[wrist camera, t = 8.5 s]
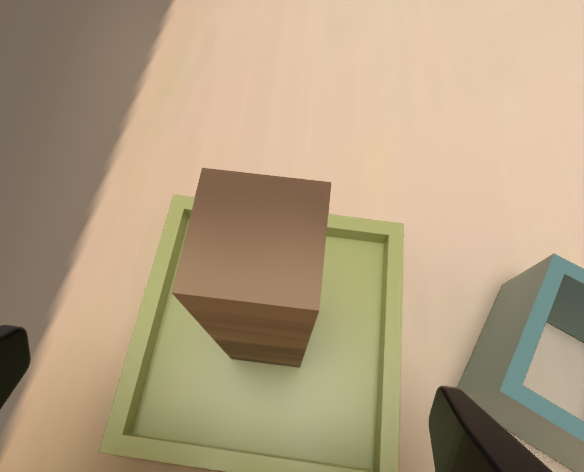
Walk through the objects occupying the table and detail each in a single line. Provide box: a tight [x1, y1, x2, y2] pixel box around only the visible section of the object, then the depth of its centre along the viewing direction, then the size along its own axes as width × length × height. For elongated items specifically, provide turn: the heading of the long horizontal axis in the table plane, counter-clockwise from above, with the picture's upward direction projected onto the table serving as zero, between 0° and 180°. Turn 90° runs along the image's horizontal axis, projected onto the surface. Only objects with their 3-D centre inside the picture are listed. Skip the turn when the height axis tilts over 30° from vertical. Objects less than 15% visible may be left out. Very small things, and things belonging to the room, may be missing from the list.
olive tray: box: [99, 194, 404, 472], centre depth 21 cm, size 13×13×2 cm
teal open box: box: [457, 254, 584, 472], centre depth 19 cm, size 7×7×5 cm
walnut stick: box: [171, 168, 331, 368], centre depth 16 cm, size 4×4×12 cm
